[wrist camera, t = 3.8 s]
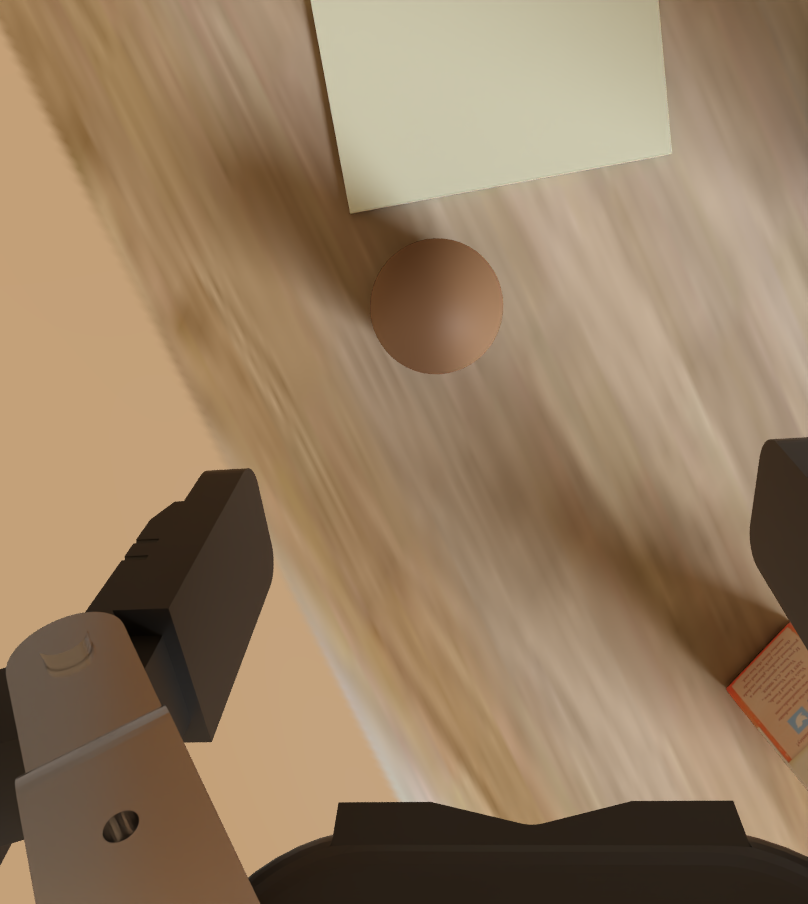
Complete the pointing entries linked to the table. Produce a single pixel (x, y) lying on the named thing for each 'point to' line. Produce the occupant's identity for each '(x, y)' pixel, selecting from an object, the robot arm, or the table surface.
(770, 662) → the cracker box
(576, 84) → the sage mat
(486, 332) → the walnut cylinder
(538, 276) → the table surface
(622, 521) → the table surface
